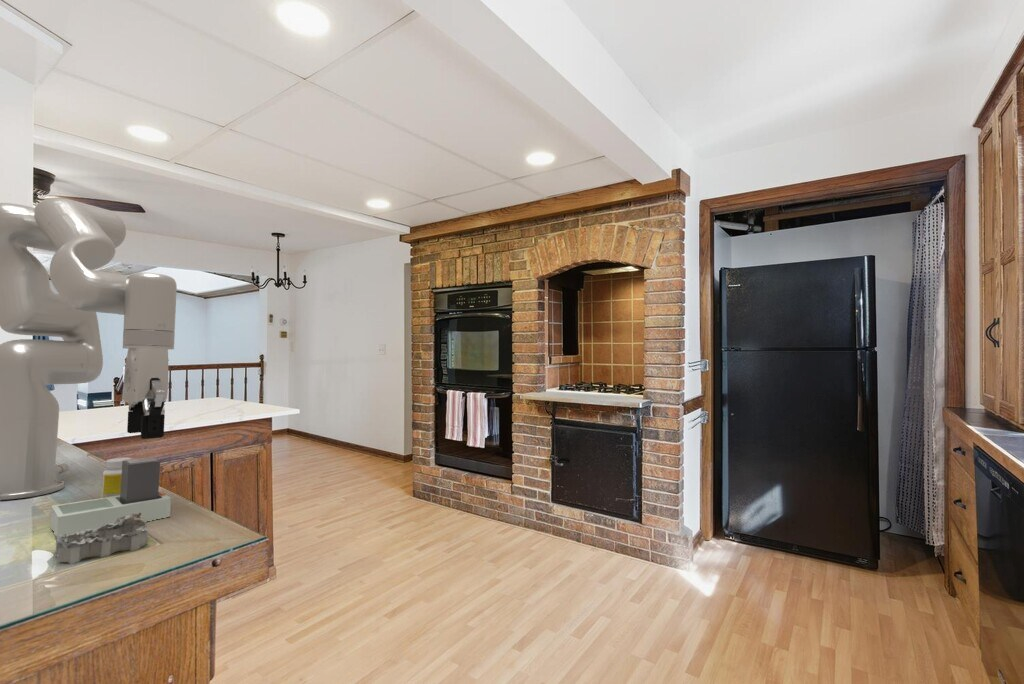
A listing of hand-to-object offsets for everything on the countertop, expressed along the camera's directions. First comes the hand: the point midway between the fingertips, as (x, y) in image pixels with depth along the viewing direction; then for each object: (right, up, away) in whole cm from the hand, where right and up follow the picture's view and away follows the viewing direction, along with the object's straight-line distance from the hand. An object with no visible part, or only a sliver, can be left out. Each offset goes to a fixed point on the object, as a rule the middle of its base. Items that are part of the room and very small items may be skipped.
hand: (144, 435), depth 87 cm
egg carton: (+5, -15, -15) cm, 21 cm away
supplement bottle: (-12, -15, +8) cm, 20 cm away
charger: (-1, -13, 0) cm, 13 cm away
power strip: (-3, -15, -3) cm, 15 cm away
